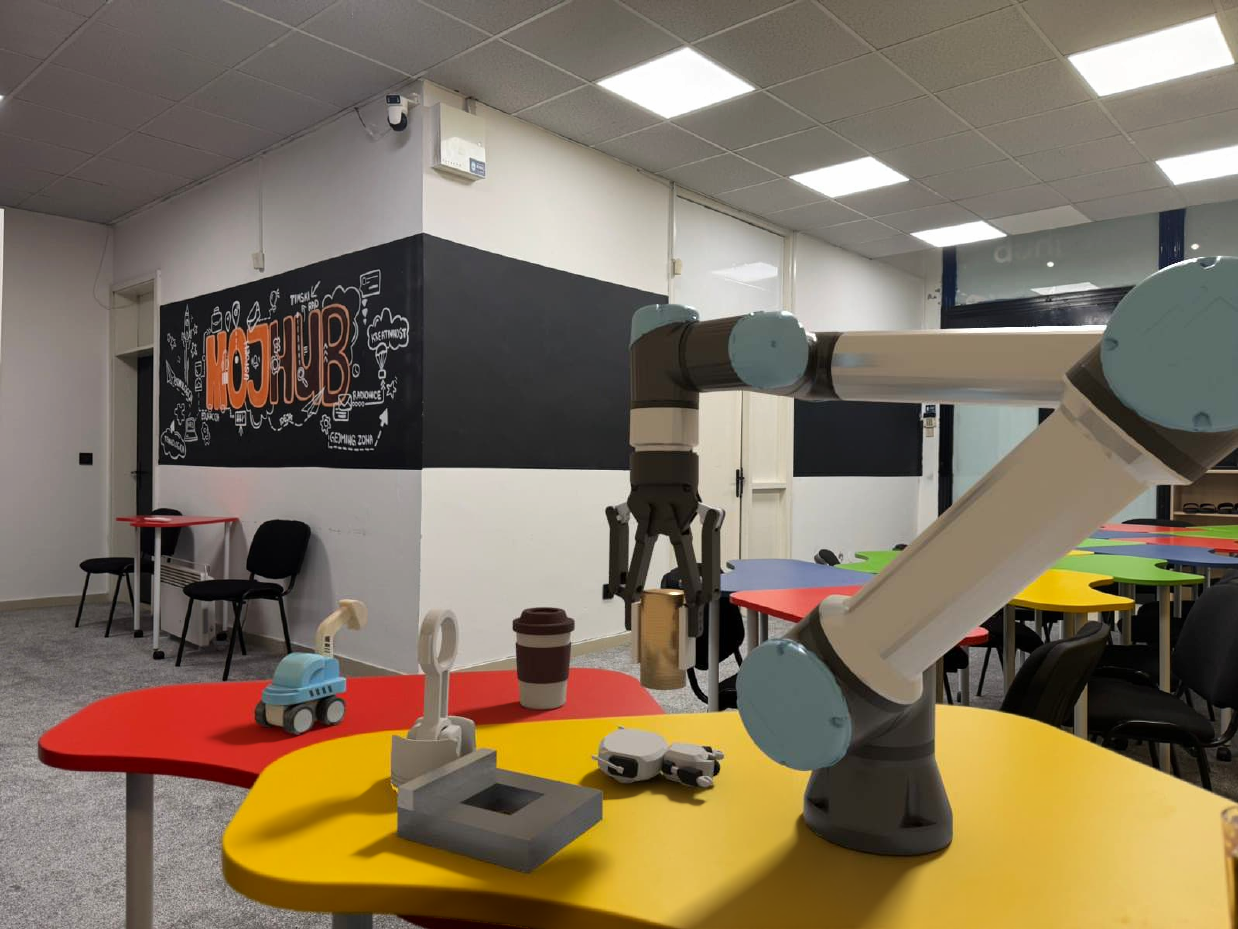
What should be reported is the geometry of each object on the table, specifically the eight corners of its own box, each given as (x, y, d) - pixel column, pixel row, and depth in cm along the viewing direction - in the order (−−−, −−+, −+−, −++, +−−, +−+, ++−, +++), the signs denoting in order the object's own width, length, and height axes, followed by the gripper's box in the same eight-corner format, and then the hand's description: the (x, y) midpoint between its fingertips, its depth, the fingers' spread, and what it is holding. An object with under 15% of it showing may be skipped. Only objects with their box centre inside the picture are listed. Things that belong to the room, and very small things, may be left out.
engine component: (374, 793, 96) (456, 801, 94) (377, 615, 96) (458, 618, 94) (416, 761, 106) (490, 768, 104) (418, 601, 106) (492, 604, 104)
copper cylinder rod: (693, 682, 91) (693, 590, 92) (674, 692, 87) (675, 596, 87) (652, 676, 94) (652, 587, 94) (632, 686, 89) (632, 593, 89)
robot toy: (725, 774, 106) (612, 754, 110) (728, 739, 106) (615, 719, 109) (710, 812, 94) (583, 787, 98) (713, 772, 94) (586, 749, 98)
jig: (602, 818, 89) (602, 772, 89) (528, 873, 77) (528, 819, 77) (482, 790, 97) (482, 747, 97) (397, 836, 84) (397, 787, 84)
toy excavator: (381, 712, 128) (382, 600, 128) (286, 741, 114) (288, 615, 114) (344, 703, 133) (345, 595, 133) (248, 730, 119) (250, 609, 119)
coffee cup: (512, 696, 138) (513, 605, 138) (572, 695, 139) (573, 605, 139) (511, 713, 128) (512, 615, 128) (575, 712, 129) (576, 615, 129)
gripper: (754, 450, 90) (753, 666, 89) (608, 451, 98) (607, 649, 98) (730, 447, 83) (729, 681, 83) (575, 449, 92) (574, 661, 91)
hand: (663, 663), depth 90 cm, fingers closed on copper cylinder rod, 5 cm apart
